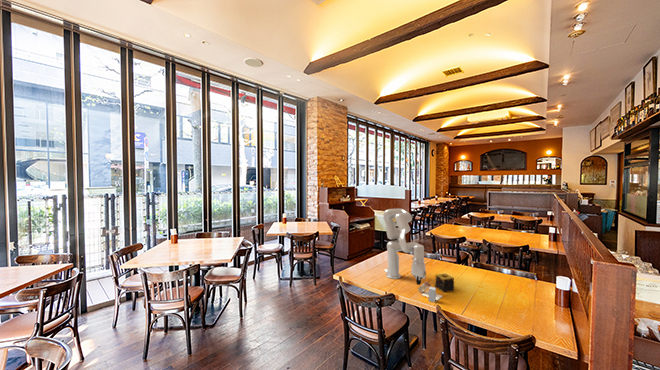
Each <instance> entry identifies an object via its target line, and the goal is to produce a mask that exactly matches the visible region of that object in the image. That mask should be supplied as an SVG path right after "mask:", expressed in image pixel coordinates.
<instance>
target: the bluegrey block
mask: <svg viewBox="0 0 660 370" xmlns="http://www.w3.org/2000/svg"><path fill="white" fill-rule="evenodd" d="M436 288H437V287H435V286H434V287H432V286H430V287H428V291H429V298H428V302H430V301H431V303H436V301H437V300H436V294H437V290H436ZM435 300H436V301H435Z"/></svg>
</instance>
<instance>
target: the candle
mask: <svg viewBox="0 0 660 370" xmlns="http://www.w3.org/2000/svg"><path fill="white" fill-rule="evenodd" d="M434 288H437V289H438V290H440V291H442V292H444V293H445V292H451V291H455V277H453V276H452V275H449V274H447V273H440V274H439V273H438V274H435V286H434Z"/></svg>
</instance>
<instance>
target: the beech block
mask: <svg viewBox="0 0 660 370" xmlns="http://www.w3.org/2000/svg"><path fill="white" fill-rule="evenodd" d="M429 287H432V284H431V283H429V281H428V280H426V281H424V282H423V283H421V284H420V285H419V287H418V288H417V291H419V293H421V294H423V293H424V292H426V291H427V289H429Z"/></svg>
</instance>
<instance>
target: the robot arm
mask: <svg viewBox="0 0 660 370" xmlns="http://www.w3.org/2000/svg"><path fill="white" fill-rule="evenodd" d="M382 216H383V220H384V224H385V230H386V231H385V232H386V236H387V239H389V240H390V241H388V242H387V243H386V250H387V269H386V268H385V269H384V272H385V273H386V277H387V278H388V279H392V280H394V279H395V280H397V279H400V278H401V277H402V276H401V274H400V256H399V254H398V252H403V253H406V254H408V253H413V257H412V259H411V260H412V262H411V271H410V273H411V275H412V276H413V277H414V278H415V281H416V282H415V283H416V285H417V286H421V285H422V279H424V280H425V279H426V275H427V270H426V264H425V246H424V244H420V243H418V242H417V241H411V242H407V240H406V234H407V233H409V232H410V231H411V227H410V225H409V223H411V222H412V220H413V217H412V214H411V213H410V212H408V211H407V210H405V209H403V208H389V209H386V210H384V212H383V214H382ZM394 219H395V221H394ZM396 224H397V226H396Z"/></svg>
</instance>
